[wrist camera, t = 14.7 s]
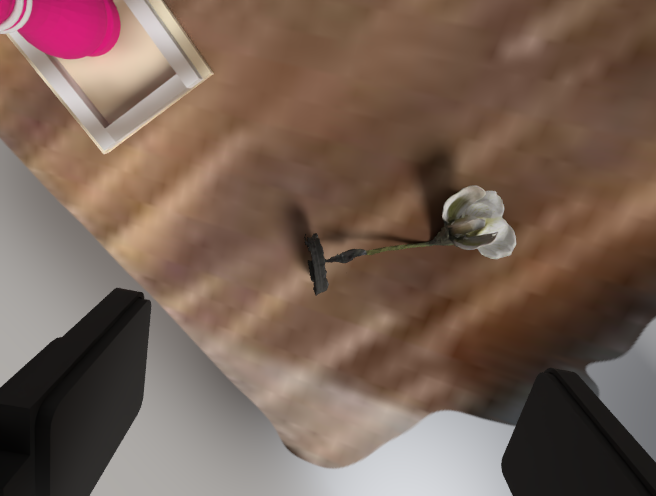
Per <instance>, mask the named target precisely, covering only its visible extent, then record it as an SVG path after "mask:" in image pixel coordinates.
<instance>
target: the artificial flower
mask: <svg viewBox="0 0 656 496" xmlns="http://www.w3.org/2000/svg"><path fill="white" fill-rule="evenodd" d="M503 212H504V205H503V202H502V200H501V198H500V196H497V194H496V191H485V190H483V189H482V188H480V187H478V186H468V187H466V188H463V189H462V190H460V191H459V192H458V193H456V194H455V195H453V196H451V197H450V198H449V199H447V201H446V202H445V204H444V208H443V211H442V218H443V221H444V227H443V228H441V231H440V232H438V234H437V236H436V237H434V239H433V240H432V241H429V242H426V243H418V244H407V245H398V246H390V247H384V248H378V249H373V250H369V251H365V250H363V249H351V250H348V251H345V252H342V253H341V254H340V255H338V254H337V255H336V256H335V257H331V258H330V259H328V260H326V259H325V258H324V256H323V254H324V252H323V248H322V246H321V244H320V239H319V238H318V235H317V233H315V234H313V236H312V237H311V238H308V237H307V240H308V242H307V241H306V238H305V237H304V239H305V245H307V247H309V248H308V250H309V251H311V256H312V261H309V260H308V266H309V272H310V276H311V277H310V278H311V280H312V281H313V282H314V288H313V290H314V292H315V294H316V296H317V295H318V294H319V293H321V292H324V291H326V290H327V288H328V285H329V284H328V281H327V279H326V273H327V271H326V270H325V262H340V263H347V262H349V261H351V260H353V258H355V257H357V256H361V255H373V254H375V253H380V252H383V251H387V250H399V249H406V248H411V247H420V246H421V247H424V246H432V245H455V246H457V247H460V248H462V249H465V250H473V249H477V248H478V250H479V252H480V253H481V254H482V255H484V256H486V257H489V258H491V259H498V258H502V257H505V256H509V255H511V253H512V251H513V249H514V247H515V246H516V237H515V233H514V231H513V229H512V227H511V226H509V225H508V224H507V222H506V221H505V220H504V219H503V218H502V215H503ZM305 236H306V234H305Z"/></svg>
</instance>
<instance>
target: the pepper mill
mask: <svg viewBox="0 0 656 496" xmlns="http://www.w3.org/2000/svg"><path fill="white" fill-rule="evenodd" d="M120 29H121V22H120V17H119V13H118V10H117V7H116V6H115V4H114V2H113V1H112V0H0V34H7V33H12V32H15V31H17V32H18V33H19V34H20V35H21V36H22V37H23V38H24V39H25V40H26V41H27V42H28V43H30V44H31V45H33V46H34V47H35V48H37V49H39V50H40V51H42V52H44V53H46V54H48V55H51V56H54V57H58V58H62V59H79V58H83V57H86V56H89V57H96V56H101V55H103V54H105V53H107V52H109V51H110V50H111V49H112V48H113V47H114V45H115V44H116V43H117V40H118V38H119V35H120Z"/></svg>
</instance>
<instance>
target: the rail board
mask: <svg viewBox="0 0 656 496" xmlns="http://www.w3.org/2000/svg"><path fill="white" fill-rule="evenodd" d="M112 1H113V2H114V4H115V6H116V7H117V10H118V13H119V17H120V22H121V29H120V35H119V38H118V40H117V43H116V44H115V45H114V47H113V48H112V49H111V50H110V51H109V52H107V53H105V54H103V55H101V56H96V57H89V56H86V57H83V58H79V59H62V58H58V57H54V56H51V55H48V54H46V53H44V52H42V51H40V50H39V49H37V48H35V47H34V46H33V45H31V44H30V43H28V42H27V41H26V40H25V39H24V38H23V37H22V36H21V35H20V34H19V33H18V32H17V31H15V32H12V33H7V34H6V35H7V36H8V37H9V39H10V40H11V41H12V42H13V43H14V45H15V46H16V47H17V48H18V50H19V51H20V52H21V53H22V55H23V56H24V57H25V58H26V59H27V61H28V62H29V63H30V64H31V66H32V67H33V68H34V69H35V70H36V72H37V73H38V74H39V75H40V77H41V78H42V79H43V80H44V82H45V83H46V84H47V85H48V86H49V88H50V89H51V90H52V91H53V93H54V94H55V95H56V96H57V97H58V99H59V100H60V101H61V102H62V104H63V105H64V106H65V107H66V108H67V110H68V111H69V112H70V113H71V115H72V116H73V117H74V118H75V120H76V121H77V122H78V123H79V124H80V126H81V127H82V128H83V129H84V131H85V132H86V133H87V134H88V135H89V137H90V138H91V139H92V140H93V142H94V143H95V144H96V145H97V147H98V148H99V149H100V150H101V151H102V153H103V154H106V153H109V152H110V151H112V150H113V149H114V148H116V147H117V146H118V145H120V144H121V143H122V142H124V141H125V140H126V139H128V138H129V137H130V136H131V135H133V134H134V133H135V132H137V131H138V130H139V129H141V128H142V127H143V126H145V125H146V124H147V123H149V122H150V121H151V120H153V119H154V118H155V117H157V116H158V115H159V114H161V113H162V112H163V111H165V110H166V109H167V108H169V107H170V106H171V105H173V104H174V103H175V102H177V101H178V100H179V99H181V98H182V97H183V96H185V95H186V94H187V93H189V92H190V91H191V90H193V89H194V88H195V87H197V86H198V85H199V84H201V83H202V82H203V81H205V80H206V79H207V78H209V77H210V76H211V75H213V74H214V73H213V71H212V70H211V68H210V67H209V65H208V64H207V62H206V61H205V60H204V58H203V57H202V55H201V54H200V52H199V51H198V49H197V48H196V47H195V45H194V44H193V42H192V41H191V39H190V38H189V37H188V35H187V34H186V32H185V31H184V29H183V28H182V26H181V25H180V24H179V22H178V21H177V19H176V18H175V16H174V15H173V13H172V12H171V11H170V9H169V8H168V6H167V5H166V3H165V2H164V1H163V0H112Z"/></svg>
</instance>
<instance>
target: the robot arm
mask: <svg viewBox="0 0 656 496" xmlns="http://www.w3.org/2000/svg"><path fill="white" fill-rule="evenodd" d="M150 314H151V302H150V300H145V299H144V294H143V293H142V292H137V291H132V290H126V289H121V288H116V289H114V290H113V291H112V292H111V293H110V294H109V295H107V296H106V297H105V298H104V299H103V300H102V301H101V302H100V303H99V304H98V305H97V306H95V307H94V308H93V309H92V310H91V311H90V312H89V313H88V314H87V315H86V316H85V317H83V318H82V319H81V320H80V321H79V322H78V323H77V324H76V325H75V326H74V327H73V328H72V329H70V330H69V331H68V332H67V333H66V334H65V335H64V336H63V337H60V338H56V339H55V340H53V341H52V342H50V343H49V344H48V345H47V346H46V347H45V348H44V349H43V350H42V351H41V352H40V353H38V354H37V355H36V356H35V357H34V358H33V359H32V360H30V361H29V362H28V363H27V364H26V365H25V366H24V367H23V368H22V369H20V370H19V371H18V372H17V373H16V374H15V375H14V376H13V377H12V378H10V379H9V380H8V381H7V382H6V383H5V384H4V385H3V386H2V387H0V496H89V495H90V494H91V492H92V490H93V489H94V487H95V485H96V484H97V482H98V480H99V478H100V477H101V475H102V473H103V472H104V470H105V468H106V467H107V465H108V463H109V462H110V460H111V458H112V457H113V455H114V453H115V451H116V450H117V448H118V446H119V445H120V443H121V441H122V440H123V438H124V436H125V435H126V433H127V431H128V430H129V428H130V426H131V424H132V423H133V421H134V419H135V417H136V416H137V414H138V412H139V410H140V408H141V405H142V401H143V393H144V383H145V371H146V359H147V348H148V336H149V326H150ZM501 466H502V473H503V476H504V478H505V480H506V482H507V484H508V486H509V489H510V491H511V493H512V495H513V496H656V462H655V461H654V460H653V459H652V458H651V457H650V456H649V455H648V453H647V452H646V451H645V450H644V449H643V448H642V447H641V445H640V444H639V443H638V442H637V441H636V440H635V439H634V438H633V436H632V435H631V434H630V433H629V432H628V431H627V430H626V429H625V427H624V426H623V425H622V424H621V423H620V422H619V421H618V420H617V418H616V417H615V416H614V415H613V414H612V413H611V412H610V410H608V408H607V407H606V406H605V405H604V404H603V403H602V401H601V400H600V399H599V398H598V397H597V396H596V395H595V394H594V392H593V391H592V390H591V389H590V388H589V387H588V386H587V385H586V383H585V382H584V381H583V380H582V379H581V378H580V377H579V376H578V375H577V374H576V373H575V372H570V371H565V370H560V369H554V368H549V369H547V370H546V371H545V372H544V373H543V372H542V373H540V374H539V375H538V376H537V378H536V380H535V382H534V384H533V387H532V389H531V392H530V394H529V396H528V399H527V401H526V403H525V406H524V408H523V410H522V413H521V415H520V417H519V420H518V422H517V424H516V427H515V429H514V432H513V434H512V437H511V439H510V441H509V444H508V446H507V448H506V450H505V453H504V455H503V458H502V463H501Z"/></svg>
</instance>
